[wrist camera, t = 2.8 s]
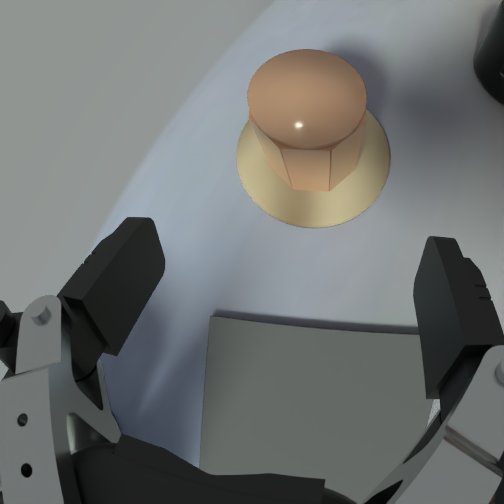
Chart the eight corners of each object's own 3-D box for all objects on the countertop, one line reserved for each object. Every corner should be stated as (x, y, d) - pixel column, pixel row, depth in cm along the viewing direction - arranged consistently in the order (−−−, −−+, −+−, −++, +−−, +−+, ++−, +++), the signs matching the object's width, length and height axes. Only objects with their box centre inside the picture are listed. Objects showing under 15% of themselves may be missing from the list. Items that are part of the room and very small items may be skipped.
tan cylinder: (354, 117, 21) (362, 51, 14) (355, 193, 20) (369, 147, 13) (273, 114, 22) (253, 50, 15) (267, 188, 22) (240, 141, 15)
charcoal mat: (442, 334, 18) (444, 335, 18) (391, 517, 17) (392, 521, 16) (212, 315, 22) (210, 316, 21) (200, 496, 20) (197, 499, 20)
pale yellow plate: (384, 95, 21) (387, 82, 19) (389, 234, 20) (395, 229, 18) (246, 91, 23) (240, 78, 22) (229, 223, 22) (221, 217, 21)
